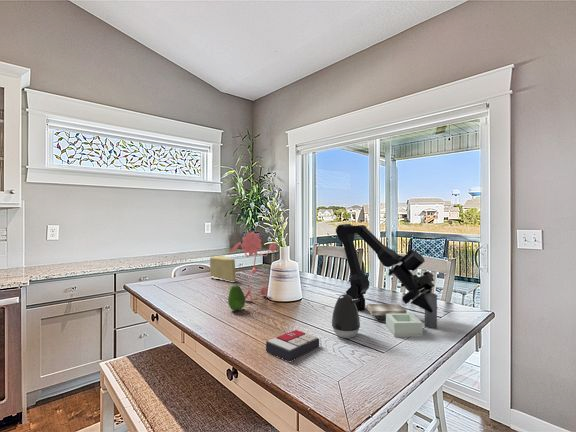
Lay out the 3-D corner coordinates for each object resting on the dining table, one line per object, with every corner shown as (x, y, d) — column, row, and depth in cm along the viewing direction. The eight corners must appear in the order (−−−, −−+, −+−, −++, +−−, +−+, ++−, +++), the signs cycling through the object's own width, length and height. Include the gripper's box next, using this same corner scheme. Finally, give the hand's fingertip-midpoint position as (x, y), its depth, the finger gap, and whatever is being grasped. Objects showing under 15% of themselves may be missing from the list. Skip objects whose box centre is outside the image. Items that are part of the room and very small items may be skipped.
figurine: (281, 295, 170) (278, 230, 169) (238, 306, 154) (235, 233, 153) (265, 290, 182) (262, 229, 181) (223, 300, 166) (221, 232, 165)
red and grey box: (319, 336, 109) (289, 349, 98) (319, 349, 109) (289, 363, 98) (296, 328, 117) (265, 339, 106) (295, 340, 117) (265, 352, 106)
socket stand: (394, 336, 115) (394, 323, 115) (386, 326, 125) (385, 313, 125) (422, 336, 115) (422, 322, 115) (411, 325, 125) (411, 313, 125)
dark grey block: (427, 328, 122) (427, 296, 122) (422, 324, 127) (422, 293, 126) (439, 328, 122) (438, 296, 122) (433, 324, 127) (433, 292, 126)
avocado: (224, 311, 148) (224, 285, 147) (238, 306, 153) (237, 281, 153) (235, 314, 142) (234, 288, 142) (249, 310, 148) (248, 284, 148)
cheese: (241, 281, 204) (240, 258, 203) (228, 284, 197) (227, 260, 197) (222, 276, 220) (221, 254, 219) (209, 279, 213) (209, 256, 213)
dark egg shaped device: (354, 343, 110) (354, 300, 110) (327, 337, 116) (326, 296, 115) (364, 333, 119) (364, 292, 119) (338, 328, 125) (337, 289, 124)
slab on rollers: (372, 321, 131) (372, 311, 131) (366, 313, 140) (366, 304, 140) (406, 320, 131) (406, 310, 131) (399, 313, 140) (399, 303, 140)
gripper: (410, 269, 120) (441, 304, 112) (429, 262, 133) (458, 293, 126) (390, 286, 125) (418, 321, 118) (410, 278, 139) (437, 308, 131)
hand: (434, 310), depth 123 cm, fingers closed on dark grey block, 4 cm apart
